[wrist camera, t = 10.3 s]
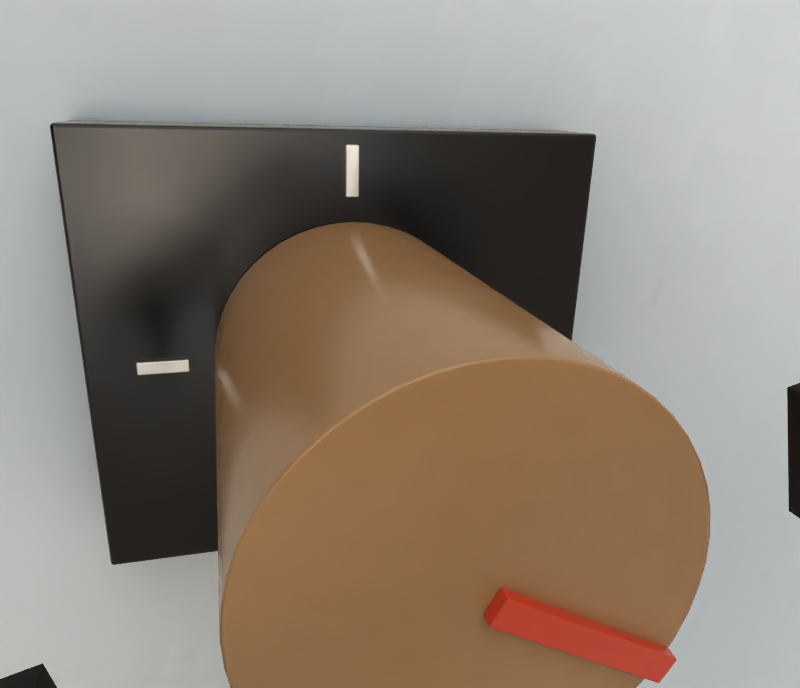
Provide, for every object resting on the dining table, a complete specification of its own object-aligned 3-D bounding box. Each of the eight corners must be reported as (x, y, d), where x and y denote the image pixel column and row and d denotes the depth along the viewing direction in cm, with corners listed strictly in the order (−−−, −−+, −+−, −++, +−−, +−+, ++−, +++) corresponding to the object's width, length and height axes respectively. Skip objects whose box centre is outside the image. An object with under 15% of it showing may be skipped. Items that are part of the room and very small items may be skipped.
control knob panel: (558, 130, 22) (600, 134, 20) (523, 472, 27) (554, 509, 24) (68, 120, 19) (47, 123, 16) (120, 520, 23) (110, 569, 21)
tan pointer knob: (165, 413, 19) (116, 763, 9) (298, 168, 18) (413, 257, 8) (393, 503, 23) (546, 839, 12) (520, 299, 21) (811, 485, 11)
